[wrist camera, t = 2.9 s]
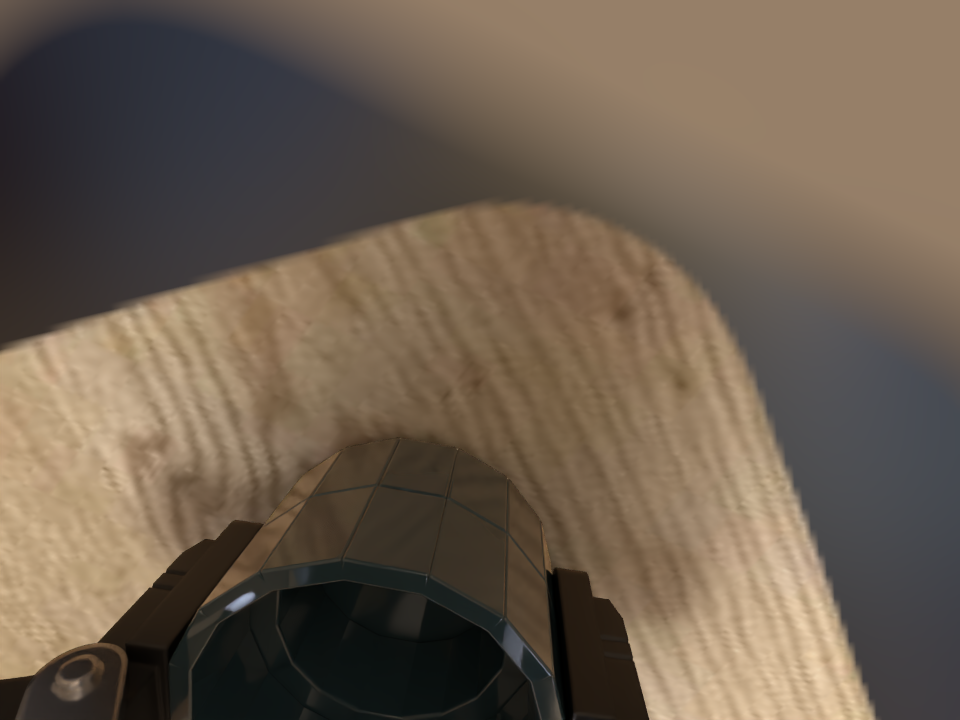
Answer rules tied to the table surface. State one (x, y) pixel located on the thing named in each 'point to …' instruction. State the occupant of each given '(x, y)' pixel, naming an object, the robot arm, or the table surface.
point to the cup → (382, 600)
